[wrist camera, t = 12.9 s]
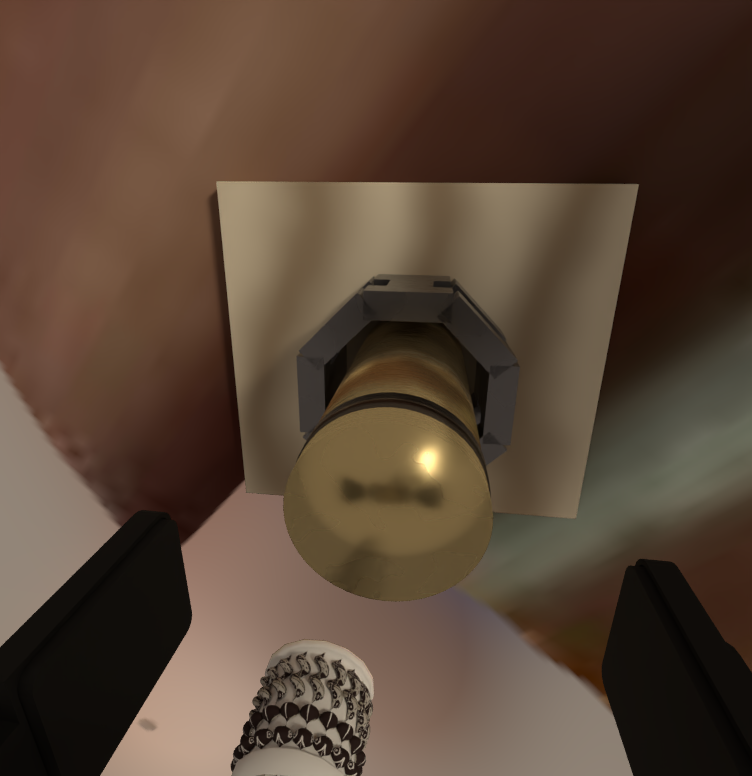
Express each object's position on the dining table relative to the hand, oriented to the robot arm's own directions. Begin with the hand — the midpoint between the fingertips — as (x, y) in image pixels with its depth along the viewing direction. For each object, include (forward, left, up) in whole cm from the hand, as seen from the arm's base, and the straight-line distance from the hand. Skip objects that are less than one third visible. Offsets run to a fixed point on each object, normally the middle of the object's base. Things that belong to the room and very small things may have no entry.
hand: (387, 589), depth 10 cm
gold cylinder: (0, 0, -17) cm, 17 cm away
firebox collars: (0, 0, -18) cm, 18 cm away
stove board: (0, 0, -18) cm, 18 cm away
